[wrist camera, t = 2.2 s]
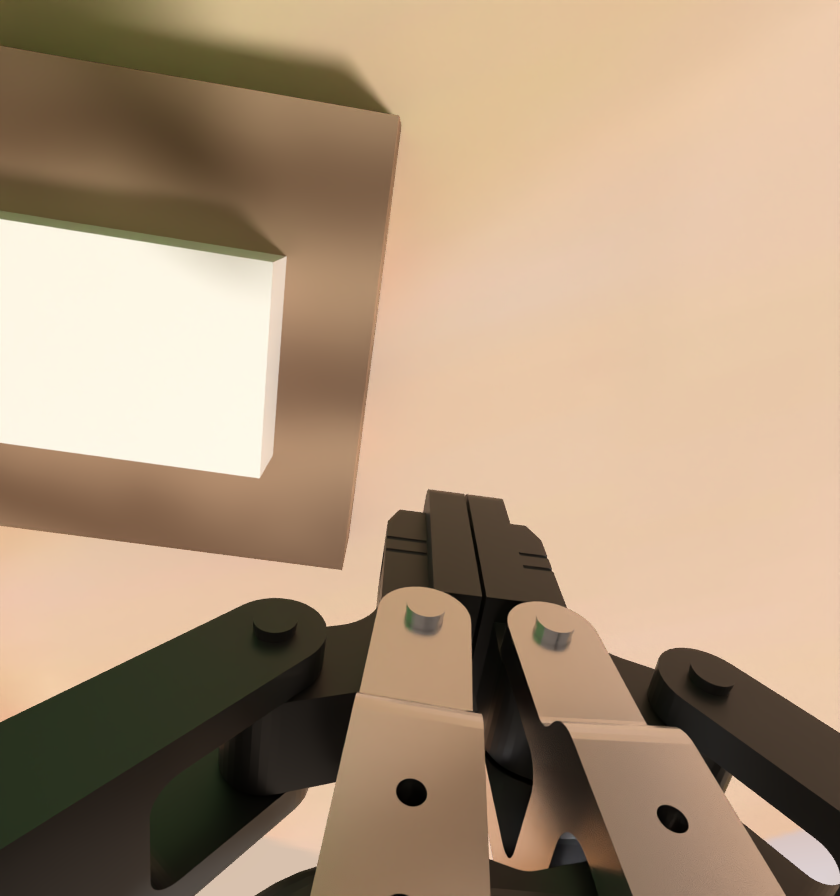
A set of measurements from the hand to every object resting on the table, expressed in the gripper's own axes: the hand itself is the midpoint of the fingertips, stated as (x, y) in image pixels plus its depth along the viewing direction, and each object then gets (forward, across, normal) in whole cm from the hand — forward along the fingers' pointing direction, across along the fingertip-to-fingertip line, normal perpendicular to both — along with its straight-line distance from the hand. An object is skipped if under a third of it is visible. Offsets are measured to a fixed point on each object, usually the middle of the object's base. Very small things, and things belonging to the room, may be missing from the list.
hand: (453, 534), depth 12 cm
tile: (+10, +10, 0) cm, 14 cm away
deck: (+12, +10, 0) cm, 15 cm away
